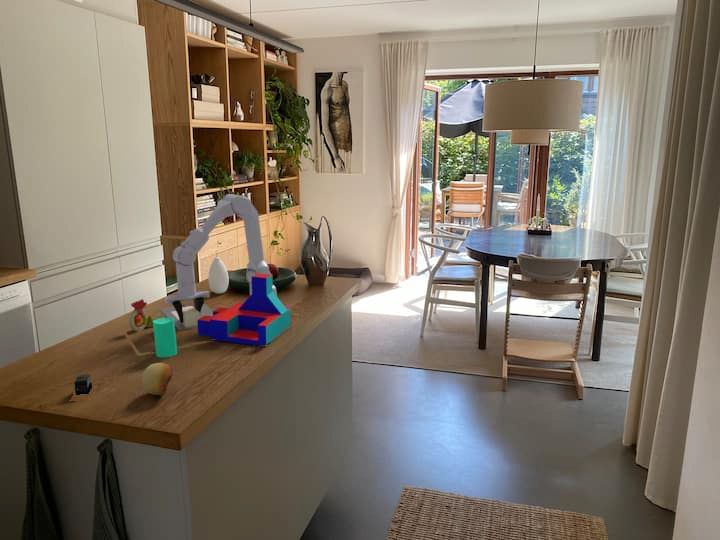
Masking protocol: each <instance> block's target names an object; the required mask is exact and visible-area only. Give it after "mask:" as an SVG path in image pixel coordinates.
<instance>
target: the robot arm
mask: <svg viewBox="0 0 720 540" xmlns="http://www.w3.org/2000/svg"><path fill="white" fill-rule="evenodd" d="M235 215H237V216H238V217H239V218H241V219H242V220H243V225H244V234H245V240H246V249H247V255H248V263H247V264H246V274H245V279H246V280H247V283H249V296H250V295H251V294H252V276H254V275H255V274H257V273H261V274H272V273H271V272H270V267H269V265H268V263H267V262H266V261H265V257H264V249H263V240H262V234H261V226H260V218H259V217H260V216H259V212H258V211H257V208H255V206H254V205H253V203H252V201H251V199H250V198H249V197H247V196H244V195H238V194H233V193H228V194H225V195H224V196H223V197H222V199H221V200H219V201H218V203H217V205H216V206H215V207H214V210H213V211H212V212H211V213H210V215H209V216H208V217H207V219H206V220H205V222H204V223H203V224H202V226H200V227H199V228H198V227H197V228H195V229H193V230H190V231H189V235H188V236H187V238H186V239H185V240H183V241H182V242H181V243H180V246H177V247H176V248H175V249H174V250H173V252H172V255H171V257H172V260H173V261H174V262H175V269H176V270H175V272H176V282H177V294H174V295H173V294H172V295H170V296H166V297H164V303H165V304H166V305H170V304H172V306H174V308H175V310H176V311H177V314H178V316H179V320H180V322H181V323H183V314H182V305H183V303H182V302H183V301H186V300H194V305H195V309H196V310H197V311H199V312H201V309H202V306H203V304H205V298H208V299H209V298H210V295H211V294H210V291H208V290H204V291H197V289H196V277H195V276H196V275H195V267H194V263H195V262H196V260H197V255H198V254H199V252H200V251H201V250H202V249H203V248H204V246H205V245H206V244H207V242H208V241H209V239H210V235H209V234H210V233H212V231H213V230H214V229H215V228H216V227H217V226H218V225H219V224H220V223H221V221H222V220H223V219H224V218H227V217H232V216H235ZM273 292H274V294H275V295H276V296H277V297H278V292H277V288H276V286H275V285H274V284H273Z"/></svg>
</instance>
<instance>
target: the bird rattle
mask: <svg viewBox="0 0 720 540" xmlns="http://www.w3.org/2000/svg"><path fill="white" fill-rule="evenodd" d="M147 305H148V303H147V302H145V301H144V299H140V300H136V301H134V302H132V303H131V304H130V306H131V307H132V308H134V309H133V311H132V312H130V314H129V317H128V325H129V327H130V328H131V329H132V330H133V331H134V332H141V331H142V330H144V329H145V328H146V327H147V328H149V327H150V328H151V327H153V321H154V319H153V316H152V315H149V316H148V315H147V313H146V312H145V311H144V310H143V309H144V308H145V307H147Z"/></svg>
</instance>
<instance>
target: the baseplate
mask: <svg viewBox="0 0 720 540" xmlns="http://www.w3.org/2000/svg"><path fill="white" fill-rule="evenodd" d="M182 307H185V306H183V304H182ZM194 308H195V307H194ZM159 310H160V311H161V312H162V314H164V316H166V318H169V317H172V318H174V322H175V328H177V330H179V332H183V331H187V330H191V329H193V330H194V329H198V326H193V327H187V328H186V327H185V326H184V325H183V324H182V323H181V322H180V321H179V316H178V314H177V311H176V310H175V308H174V306H173V305H172V306H165V307H160V308H159ZM213 311H214V309H212V308H210V307H209V306H208V305H207V304H206V303H204V304H203V306H202V309H201V312H200V318H201V317H203V316H205V315H206V316H213Z"/></svg>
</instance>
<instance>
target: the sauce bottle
mask: <svg viewBox="0 0 720 540" xmlns="http://www.w3.org/2000/svg"><path fill="white" fill-rule="evenodd" d="M215 253H216V254H215V257H214V258H213V260H212V262H211V264H210V266H209V269H208V275H207V276H208V278H207V279H208V285H209V287H210V290H211V291H212V292H213V293H215V294H224V293H225V292H227V289H228V287H229V282H230V281H229V279H230V278H229V272H228V270H227V267H226V265H225V263H224V262H223V260H221V257H219V256H218V251H216V252H215Z"/></svg>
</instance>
